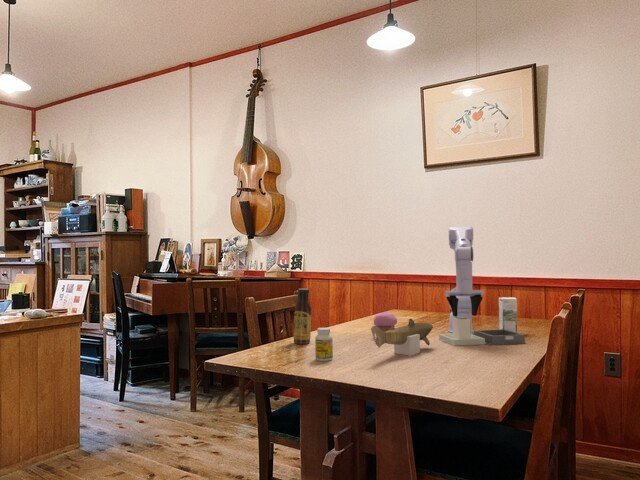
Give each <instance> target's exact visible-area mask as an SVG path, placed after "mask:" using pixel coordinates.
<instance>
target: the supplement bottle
mask: <svg viewBox="0 0 640 480" xmlns="http://www.w3.org/2000/svg"><path fill="white" fill-rule="evenodd" d="M316 331H317V335H316V336H315V339H314V341H315V345H314V346H315V360H316V361H321V362H330V361H332V360H333V359H334V357H333V355H334V354H333V353H334V352H333V351H334V348H333V345H334V344H333V336H332V335H331V334H330V333H331V328H330V327H318V328H317V329H316Z"/></svg>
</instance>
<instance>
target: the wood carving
mask: <svg viewBox="0 0 640 480" xmlns="http://www.w3.org/2000/svg"><path fill="white" fill-rule="evenodd" d="M390 327H391V329H390V330H388V331H386V332H383V331H382V330H381V329H380V328H379V327H377V326H375V325H372V326H371V329H370V330H371V333H372V336H373V340H374V343H375V345H376V346H377V348H381V347H382V346H383V345H385V344H386V345H387V344H388V345H393V347H394V349H393V350H394V351H393V353H394V354H396V353H397V354H398V355H404V356H409V357H410V356H414V355H417V354H420V353H421V343H420V342H421V341H424V342H425V344H426V346H427V345H428V346H429V345H430V344H431V343H430V340H429V339H428V338H427V336H428V335H430V333H431V332H432V330H433V328H434V326H433V325H432V323H427V322H417V323H416V322H415V321H414V319H413V318H408V324H407V325H403V326H399V327H395V326H394V327H393V326H390Z"/></svg>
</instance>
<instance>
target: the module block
mask: <svg viewBox="0 0 640 480" xmlns="http://www.w3.org/2000/svg"><path fill="white" fill-rule="evenodd" d="M452 334H453V339H470V319H467V317H463V316H461V317H456V318H453V333H452Z"/></svg>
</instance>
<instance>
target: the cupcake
mask: <svg viewBox="0 0 640 480" xmlns="http://www.w3.org/2000/svg"><path fill="white" fill-rule="evenodd" d="M397 323H398V318H397V317H396V316H395V314H393V313H392V312H388V311H384V312H379V313H377V314H376V315H375V317H374V319H373V326H377V327H379V328H380V329H381V330H382V331H383V332H386V331H388V330H390V329H391V327H390V326H393V327H394V328H395V326H396V325H397Z"/></svg>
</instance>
